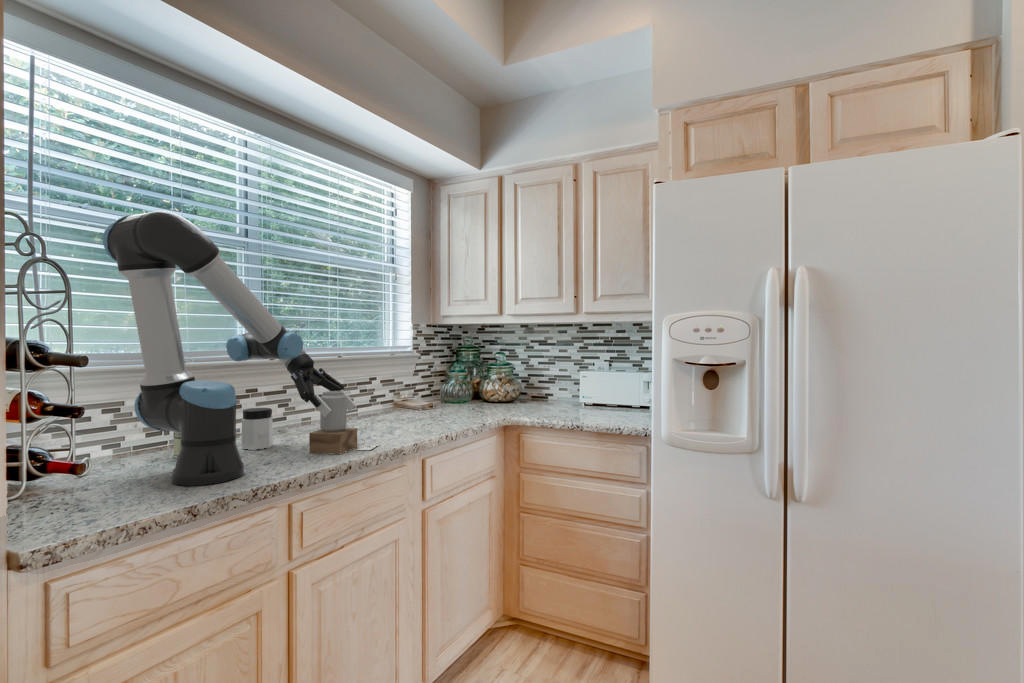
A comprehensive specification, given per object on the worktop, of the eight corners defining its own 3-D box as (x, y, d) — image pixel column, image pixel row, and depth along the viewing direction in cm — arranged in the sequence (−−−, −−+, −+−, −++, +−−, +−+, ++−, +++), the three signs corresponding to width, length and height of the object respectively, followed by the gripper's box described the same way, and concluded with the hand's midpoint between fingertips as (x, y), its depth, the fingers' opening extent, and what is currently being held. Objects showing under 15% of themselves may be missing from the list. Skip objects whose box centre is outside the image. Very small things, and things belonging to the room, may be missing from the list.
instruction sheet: (370, 450, 154) (370, 450, 154) (354, 450, 154) (354, 449, 154) (379, 445, 162) (379, 444, 162) (364, 445, 162) (364, 444, 162)
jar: (246, 451, 154) (246, 412, 154) (238, 447, 159) (237, 409, 159) (277, 447, 160) (276, 409, 160) (268, 443, 166) (267, 406, 166)
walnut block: (339, 454, 149) (339, 434, 149) (309, 453, 151) (309, 432, 151) (357, 447, 159) (357, 428, 159) (328, 446, 161) (328, 427, 161)
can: (351, 428, 158) (350, 390, 158) (337, 433, 151) (337, 392, 150) (329, 428, 160) (329, 389, 160) (315, 432, 152) (314, 392, 152)
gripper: (312, 367, 170) (353, 413, 167) (261, 371, 146) (307, 425, 143) (327, 351, 169) (368, 397, 166) (277, 353, 145) (324, 407, 142)
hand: (340, 410), depth 155 cm, fingers open, 13 cm apart
